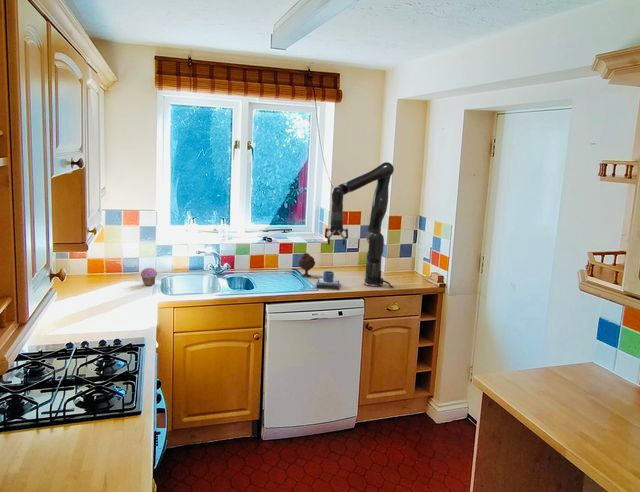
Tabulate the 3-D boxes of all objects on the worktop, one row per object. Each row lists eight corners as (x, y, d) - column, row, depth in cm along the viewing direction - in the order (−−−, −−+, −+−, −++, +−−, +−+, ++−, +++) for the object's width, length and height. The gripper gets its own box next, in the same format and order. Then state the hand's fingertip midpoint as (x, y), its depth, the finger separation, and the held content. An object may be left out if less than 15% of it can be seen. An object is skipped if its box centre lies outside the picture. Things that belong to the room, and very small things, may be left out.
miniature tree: (295, 277, 299) (296, 254, 297) (301, 273, 309) (301, 251, 307) (311, 278, 296) (312, 255, 294) (316, 275, 306) (317, 252, 304)
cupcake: (160, 284, 272) (159, 267, 271) (150, 287, 264) (150, 270, 263) (147, 282, 275) (147, 265, 274) (137, 285, 267) (137, 268, 266)
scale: (339, 283, 286) (339, 279, 286) (338, 289, 274) (338, 284, 273) (318, 282, 288) (318, 278, 287) (316, 288, 275) (316, 283, 274)
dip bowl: (333, 279, 284) (333, 271, 283) (333, 282, 278) (333, 273, 277) (323, 279, 285) (323, 270, 284) (322, 282, 278) (323, 273, 278)
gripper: (325, 219, 281) (324, 245, 283) (348, 220, 280) (347, 246, 282) (325, 217, 288) (324, 243, 291) (348, 218, 287) (347, 244, 290)
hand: (336, 245), depth 286 cm, fingers open, 8 cm apart
